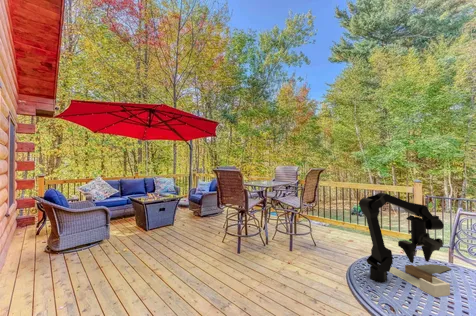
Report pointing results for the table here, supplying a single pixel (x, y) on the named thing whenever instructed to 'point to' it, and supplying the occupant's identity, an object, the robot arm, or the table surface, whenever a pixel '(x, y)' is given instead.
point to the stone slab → (433, 268)
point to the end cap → (435, 287)
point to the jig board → (405, 277)
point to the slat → (418, 273)
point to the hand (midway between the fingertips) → (419, 262)
